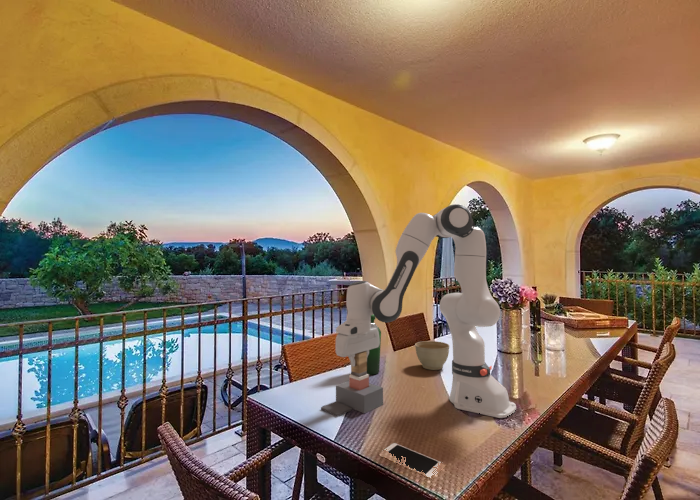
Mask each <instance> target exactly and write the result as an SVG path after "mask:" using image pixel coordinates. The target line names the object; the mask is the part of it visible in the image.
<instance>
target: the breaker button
mask: <svg viewBox="0 0 700 500" xmlns="http://www.w3.org/2000/svg"><path fill="white" fill-rule="evenodd" d="M348 379H349V380H348V381H349V387H351V388H354V389H356V390H359V391H360V390H362V389H365V388H367V387H369V383H370V375H369V374H366V375H364V376H361V377H358V376H354V375H351V373H350V374H349V377H348Z"/></svg>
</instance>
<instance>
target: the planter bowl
mask: <svg viewBox="0 0 700 500" xmlns="http://www.w3.org/2000/svg"><path fill="white" fill-rule="evenodd" d="M414 347H415V353H416V357H417V359H418V360H419V362H420V364H421V366H422V368H423V369H425V370H430V371H437V370H439V371H440V370H442V369H443V367H444V365H445V364H446V362H447V360H448V357H449V352H450V345H449V344H448V343H446V342H444V341H443V342H442V341H438V340H436V341H434V340H425V341H418V342H416V343H415V344H414Z"/></svg>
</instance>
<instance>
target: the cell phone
mask: <svg viewBox="0 0 700 500" xmlns="http://www.w3.org/2000/svg"><path fill="white" fill-rule="evenodd" d="M386 449H387V450H386ZM383 450H386V451H388V452H389V453H391V454H392V456H393V454H394V456H396V458H397V460H398V458H399V460H400V462H401V459H402V457H401V456H403V457H406V462H405V464H406V466H408V465H409V467H410V468H412V469H414V468H415V469H416V471H417V472H418V471H419V472H421V471H422V470H423V471H422V472H424V473H425V475H426V476H427V477H430V478H431V476H432V475H434V474H435V473H436V472H437V471H436V470H437V469H436V468H433V466H434V467H437V466H438V463H439V465H440V463H441V462H442V461H439V460H437V459H435V458H432V457H430V456H427V455H425V454H423V453H420V452H418V451H416V450H413V449H411V448H408V447H406V446H403V445H401V444H398V443H396V442H393V443H391V444H390V445H388V446H386V448H385V449H383ZM404 460H405V458H404ZM396 462H397V461H396ZM400 462H399V463H400ZM402 464H403V463H402ZM400 465H401V464H400ZM400 465H399V466H400ZM410 468H409V469H410ZM437 468H438V467H437ZM409 469H408V470H409ZM412 469H411V470H412ZM435 469H436V470H435ZM411 470H410V471H411ZM434 470H435V471H436V472H435V471H434ZM433 471H434V472H435V473H434V472H433ZM432 472H433V473H434V474H433V473H432ZM437 473H438V472H437ZM437 473H436V474H437ZM436 474H435V475H436Z"/></svg>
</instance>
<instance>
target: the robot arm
mask: <svg viewBox="0 0 700 500" xmlns="http://www.w3.org/2000/svg"><path fill="white" fill-rule="evenodd" d="M436 237H437V238H442V239H448V238H449V239H450V238H452V239H453V241H454V242H453V243H454V246H455V250H454V268H453V276H454V279H455V280H456V281H457V282H458V284H459V286H460V288H461V292H450V293H447V294H444V295H443V296H442V297H441V299H440V301H439V311H440V312H441V313H440V314H441V315H442V316H443V317H444V319H445V320H446V322H447V324H448V329H449V332H450V335H451V341H452V361H451V374H452V383H451V390H450V394H449V398H448V400H449V402H450V403H452V404H453V405H454V408H455V409H458V410H462V411H467V412H471V413H475V414H479V413H480V415H484V416H489V417H493V418H498V419H503V418H508V417H510V416H511V414H512V413H513V414H514V413H515V412H516V411H515V410H517V405H516V403H515V402H513V401H510V397H509V394H508V390H507V388H506V387H505V386H504V385H502V384H501V383H500V382H499V381H498V380H497V379H496V378H495V377H494V376H493V375H492V374H491V370H493V367H492V365H490V366H489V365H488V364H487V363H486V359H485V358H486V356H485V355H486V350H485V347H486V346H485V345H486V343H485V341H484V339H483V337H482V336H481V335H480V333H479V332H478V330H477V327H478V328H481V327H482V328H485V327H486V328H487V327H493V326H494V325H496V324H497V322H498V321H499V319H500V317H501V309H500V308H501V307H500V305H499V303H498V302H497V301H496V300H495V299H494V298H493V296H492V294H491V292H490V288H489V286H488V282H487V242H486V235H485V232H484V231H483V229H481V228H480V227H476V224H475V221H474V220H473V216H472V214H471V212H470V210H469V209H468V208H467V207H466V206H464V205H462V204H450V205H447V206H446V207H444V208H442V209H440V210H439V211H438V212H437V213H435V214H433V215H431V214H429V213H426V212H418V213H416V214H415V215H413V217H412V218H411V220H410V221H409V222H408V223H407V225H406V226H405V228H404V229H403V231H402V233H401V235H400V236H399V239H398V241H397V244H396V247H395V256H396V265H395V269H394V272H393V273H392V275H391V277H390V280H389V281H388V284H387V285H386V288H384V289H382V288H379V287H378V286H375V285H373V284H371V283H370V282H369V281H366V280H359V281H355V282H352V283H350V284H349V286H347V290H346V301H345V302H346V309H347V312H346V313H347V314H346V320H345V321H344V322H343V323H341V324H339V325H338V326H337V327H336V328H335V332H336V334H337V335H336V337H335V347H334V348H335V354H336V356H338V357H341V358H346V357H348V359H349V361H350V367H351V366H353V367H354V366H357V361H355V359H354V357H355V354H357V353H360V352H367V357H368V355H369V350H371V349H374V348H378V347H379V345H380V339H379V332H378V327H379V326H378V325H377V323H375V322H374V323H372V324H371V315H374V316H375V319H377V321H379V322H382V323H387V324H389V323H392V322H394V321H397V319H398V318H399V317H400V316H401V314H402V310H403V300H404V296H405V294H406V291H407V290H408V287H409V285H410V282H411V280H412V278H413V276H414V274H415V272H416V270H417V268H418V267H419V265H420V263H421V262H422V260H423V258H424V256H425V255H426V253H427V251H428V250H429V248H430V246H431V245H432V241H433V240H434V239H435V238H436ZM513 414H512V415H513ZM509 415H510V416H509ZM507 416H508V417H507Z"/></svg>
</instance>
